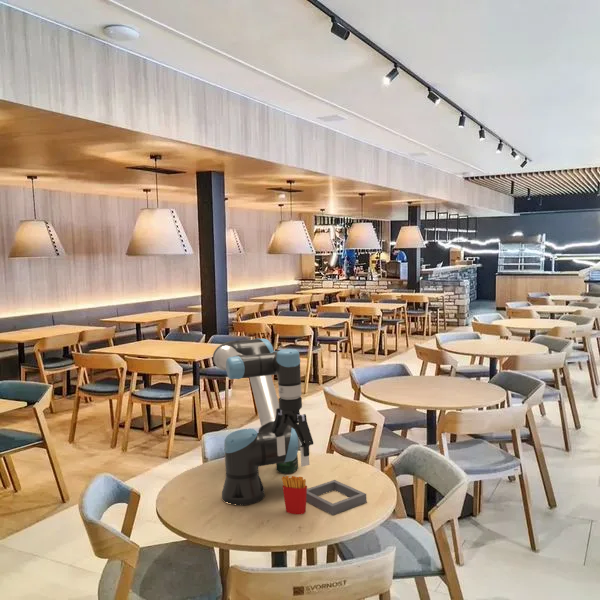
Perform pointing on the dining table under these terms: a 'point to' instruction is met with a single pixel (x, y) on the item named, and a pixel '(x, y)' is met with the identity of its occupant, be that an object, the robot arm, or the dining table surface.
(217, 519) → the dining table surface
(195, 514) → the dining table surface
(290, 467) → the coffee jar
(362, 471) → the dining table surface
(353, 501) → the gray square frame
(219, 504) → the dining table surface
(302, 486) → the french fries
